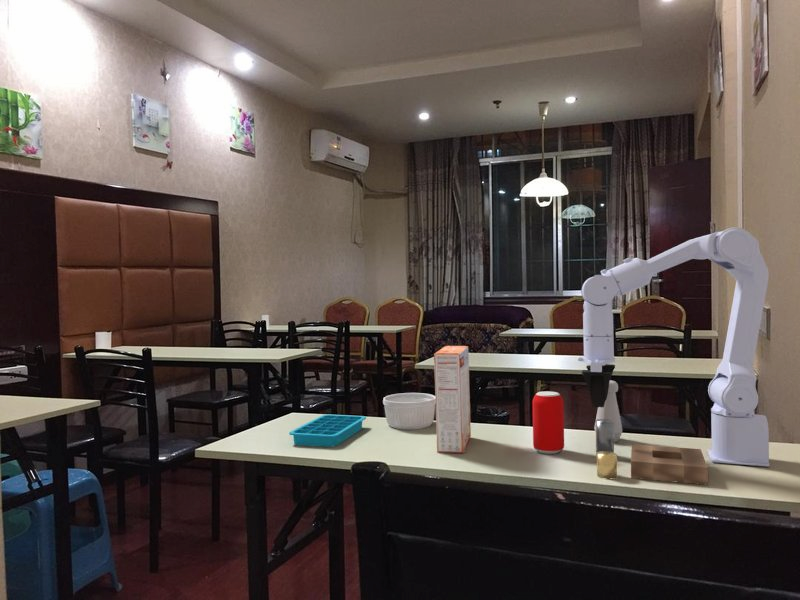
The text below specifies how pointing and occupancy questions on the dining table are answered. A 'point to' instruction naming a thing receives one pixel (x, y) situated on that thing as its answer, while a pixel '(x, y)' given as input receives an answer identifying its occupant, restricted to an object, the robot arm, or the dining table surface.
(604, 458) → the short pin
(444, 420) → the cracker box
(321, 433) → the ice cube tray
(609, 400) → the salt shaker
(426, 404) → the ramekin
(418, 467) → the dining table surface
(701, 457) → the hole block
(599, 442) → the long pin
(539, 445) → the beverage can
